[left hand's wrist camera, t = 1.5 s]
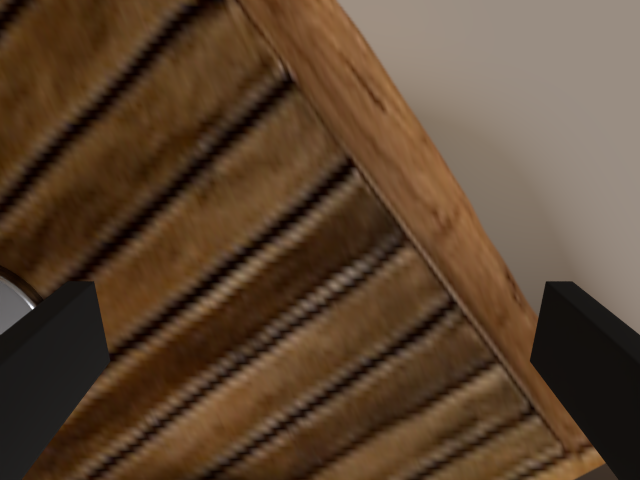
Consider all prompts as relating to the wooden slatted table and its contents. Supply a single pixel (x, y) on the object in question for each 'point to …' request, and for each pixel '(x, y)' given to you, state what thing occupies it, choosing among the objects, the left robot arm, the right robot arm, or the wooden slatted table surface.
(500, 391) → the wooden slatted table surface
